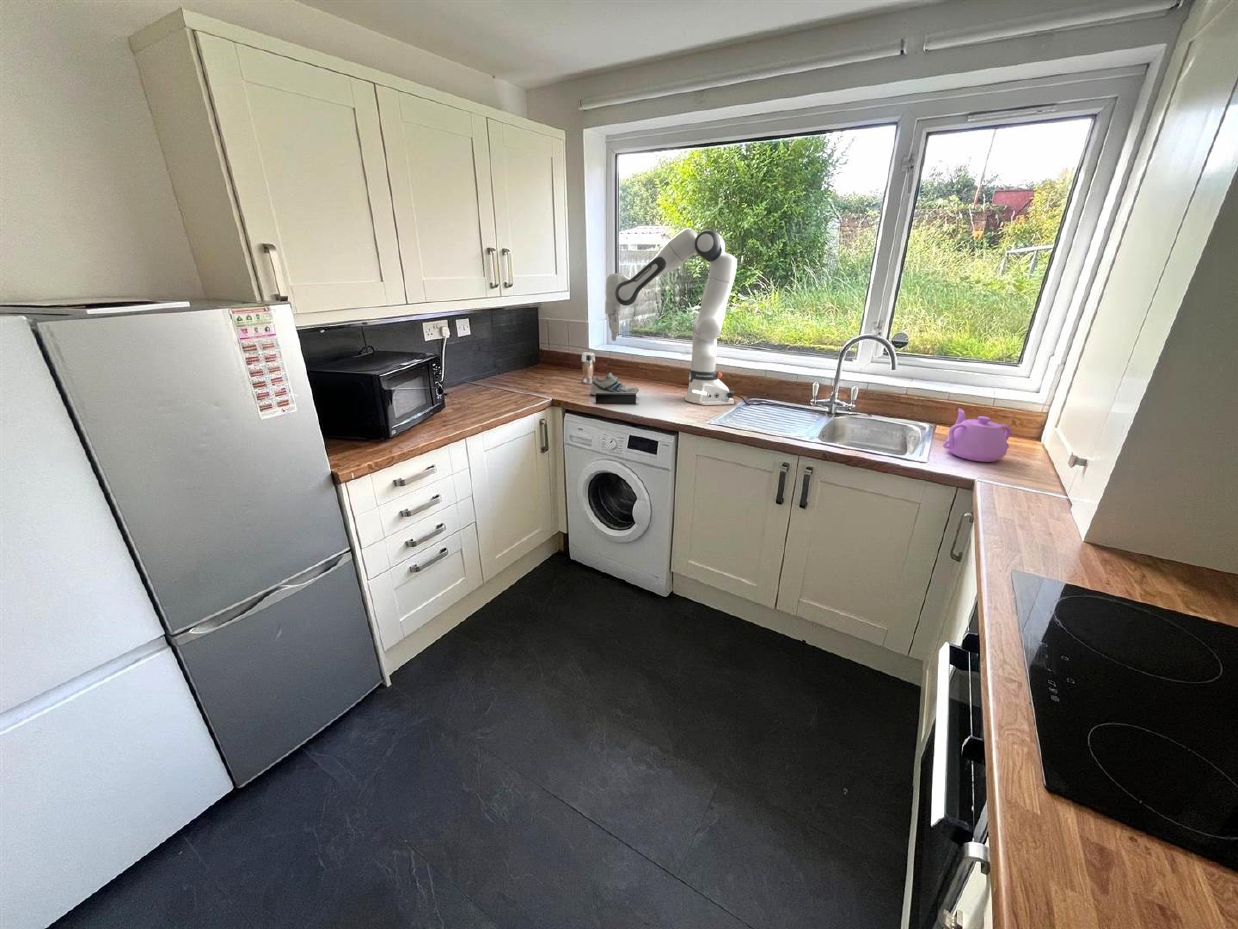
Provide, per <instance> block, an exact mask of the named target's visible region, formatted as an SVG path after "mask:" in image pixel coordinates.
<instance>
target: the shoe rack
mask: <svg viewBox="0 0 1238 929" xmlns="http://www.w3.org/2000/svg"><path fill="white" fill-rule="evenodd" d="M595 404H596V405H637V394H636V392H596V396H595Z"/></svg>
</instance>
